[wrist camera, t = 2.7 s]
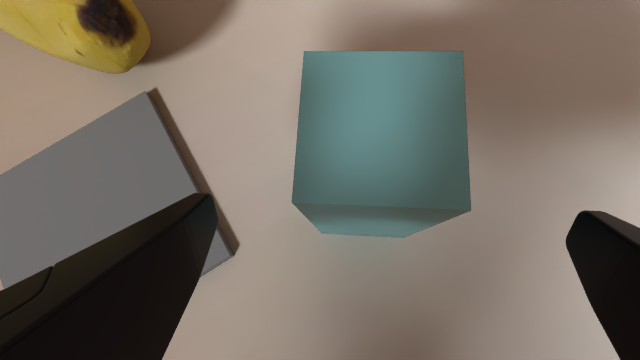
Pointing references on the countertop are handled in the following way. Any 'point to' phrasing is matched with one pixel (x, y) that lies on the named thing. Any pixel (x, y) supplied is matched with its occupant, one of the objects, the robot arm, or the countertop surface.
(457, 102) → the teal block
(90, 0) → the banana
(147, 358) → the robot arm
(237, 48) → the countertop surface
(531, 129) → the countertop surface
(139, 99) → the slate mat
